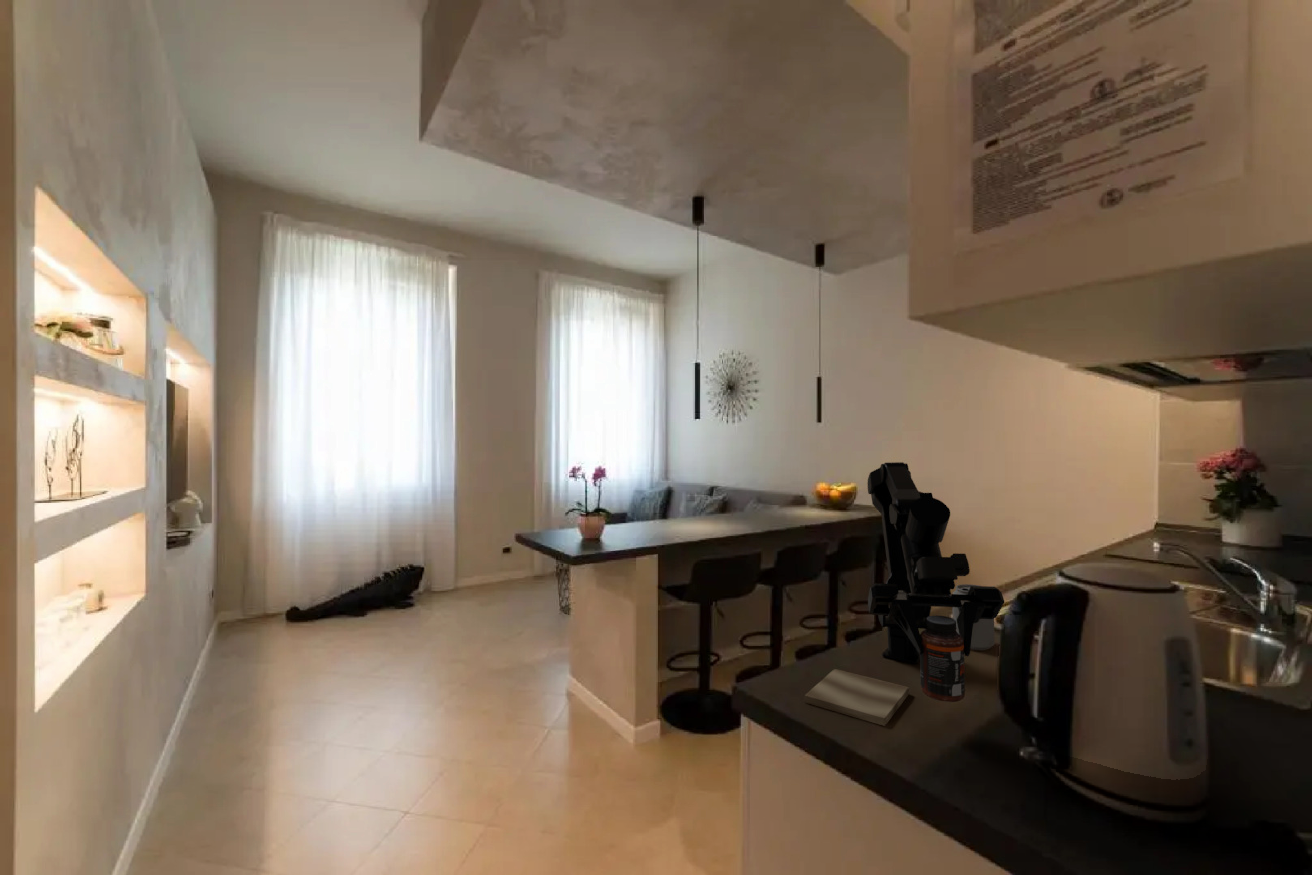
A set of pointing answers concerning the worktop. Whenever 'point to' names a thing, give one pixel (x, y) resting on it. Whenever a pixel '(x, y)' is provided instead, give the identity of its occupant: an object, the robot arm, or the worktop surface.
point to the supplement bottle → (942, 660)
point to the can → (976, 625)
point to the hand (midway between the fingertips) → (944, 654)
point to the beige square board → (858, 696)
